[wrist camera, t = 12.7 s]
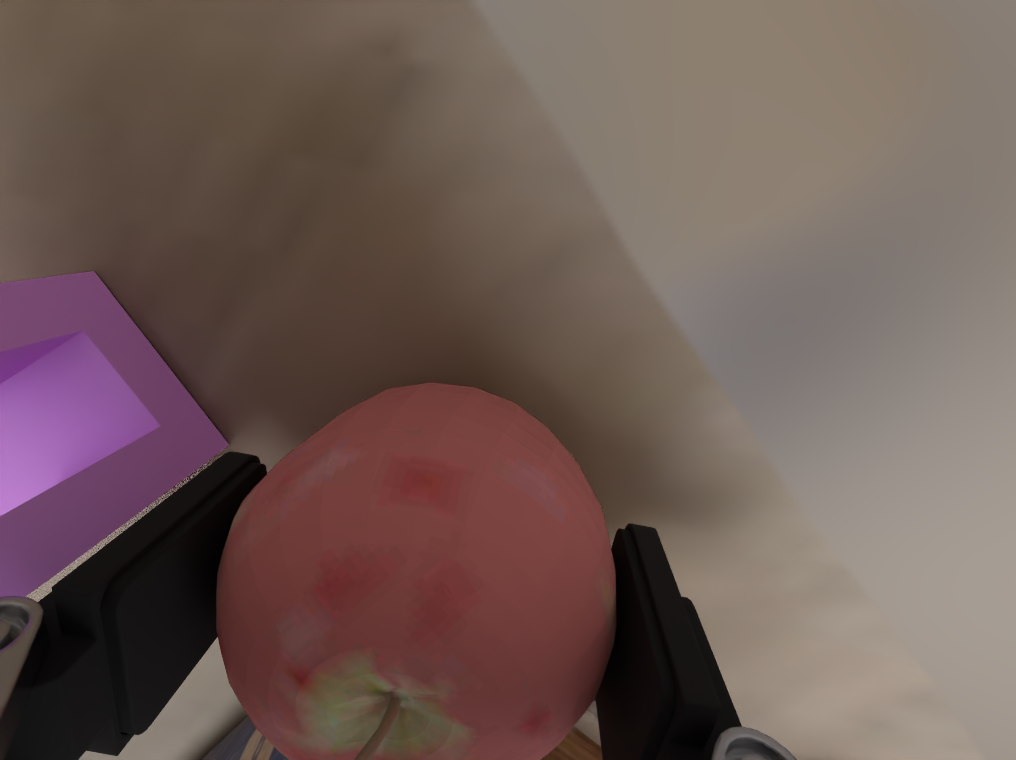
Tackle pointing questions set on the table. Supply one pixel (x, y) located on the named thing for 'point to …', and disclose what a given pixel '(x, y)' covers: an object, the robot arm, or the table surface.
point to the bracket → (82, 425)
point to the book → (252, 756)
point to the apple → (419, 585)
